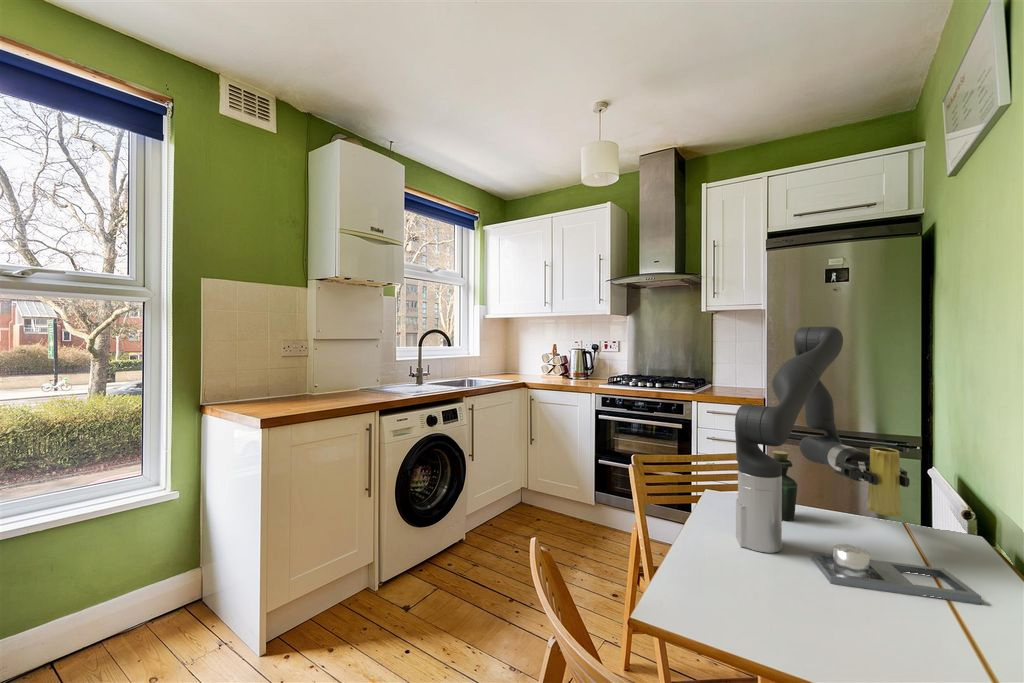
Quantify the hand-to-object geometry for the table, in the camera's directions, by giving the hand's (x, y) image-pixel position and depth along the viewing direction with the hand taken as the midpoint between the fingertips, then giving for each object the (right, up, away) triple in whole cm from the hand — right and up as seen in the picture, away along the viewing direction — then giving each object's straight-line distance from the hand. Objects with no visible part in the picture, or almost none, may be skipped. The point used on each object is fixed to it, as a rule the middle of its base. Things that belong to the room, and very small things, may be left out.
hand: (891, 481), depth 100 cm
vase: (0, -8, +2) cm, 8 cm away
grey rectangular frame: (-8, -17, -9) cm, 21 cm away
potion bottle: (-10, -18, +25) cm, 33 cm away
